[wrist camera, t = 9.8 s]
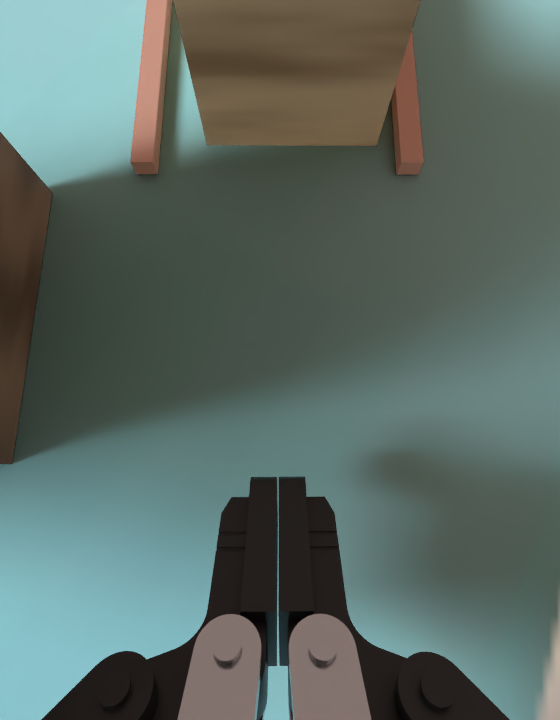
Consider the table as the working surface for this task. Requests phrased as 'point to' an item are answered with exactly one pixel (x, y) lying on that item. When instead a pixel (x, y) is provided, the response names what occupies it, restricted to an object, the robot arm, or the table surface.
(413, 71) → the terracotta frame
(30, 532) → the table surface
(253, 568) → the robot arm
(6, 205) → the wooden l-shaped stand
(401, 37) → the oak block
